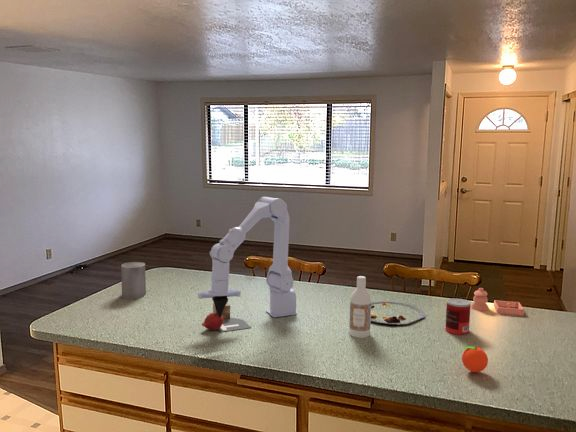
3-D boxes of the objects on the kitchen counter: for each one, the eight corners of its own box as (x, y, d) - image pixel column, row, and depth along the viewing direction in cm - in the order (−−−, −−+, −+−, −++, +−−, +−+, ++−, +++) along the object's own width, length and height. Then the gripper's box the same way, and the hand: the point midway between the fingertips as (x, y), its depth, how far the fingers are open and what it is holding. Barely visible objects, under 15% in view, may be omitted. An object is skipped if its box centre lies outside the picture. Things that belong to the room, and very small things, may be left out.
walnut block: (226, 314, 188) (226, 301, 187) (230, 318, 183) (230, 305, 183) (213, 316, 186) (212, 303, 185) (216, 320, 181) (216, 307, 181)
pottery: (518, 312, 195) (520, 288, 194) (523, 320, 186) (525, 294, 184) (469, 308, 199) (470, 284, 198) (471, 316, 190) (473, 291, 189)
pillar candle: (128, 292, 216) (127, 258, 214) (149, 293, 214) (149, 259, 212) (117, 299, 206) (116, 263, 204) (140, 300, 205) (139, 264, 203)
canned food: (468, 330, 175) (470, 299, 173) (468, 338, 167) (470, 306, 166) (445, 327, 177) (447, 297, 176) (444, 335, 170) (446, 303, 168)
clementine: (456, 373, 141) (458, 349, 140) (457, 363, 147) (459, 340, 146) (487, 378, 138) (489, 353, 137) (487, 368, 144) (488, 344, 143)
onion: (228, 321, 170) (205, 328, 167) (226, 329, 175) (204, 336, 171) (221, 307, 173) (199, 314, 170) (219, 315, 178) (198, 322, 174)
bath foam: (347, 337, 167) (349, 278, 164) (351, 330, 173) (352, 273, 171) (368, 339, 165) (370, 280, 162) (371, 332, 171) (373, 275, 169)
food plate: (394, 334, 171) (394, 324, 171) (343, 316, 189) (343, 307, 188) (435, 318, 188) (435, 309, 187) (385, 303, 205) (385, 295, 205)
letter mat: (235, 312, 191) (235, 312, 191) (251, 327, 175) (251, 327, 174) (206, 316, 186) (206, 315, 186) (220, 332, 170) (220, 331, 170)
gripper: (236, 275, 178) (234, 313, 179) (196, 277, 172) (194, 315, 173) (243, 280, 172) (241, 318, 173) (201, 281, 166) (200, 321, 167)
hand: (218, 317), depth 173 cm, fingers closed, pressing on onion
